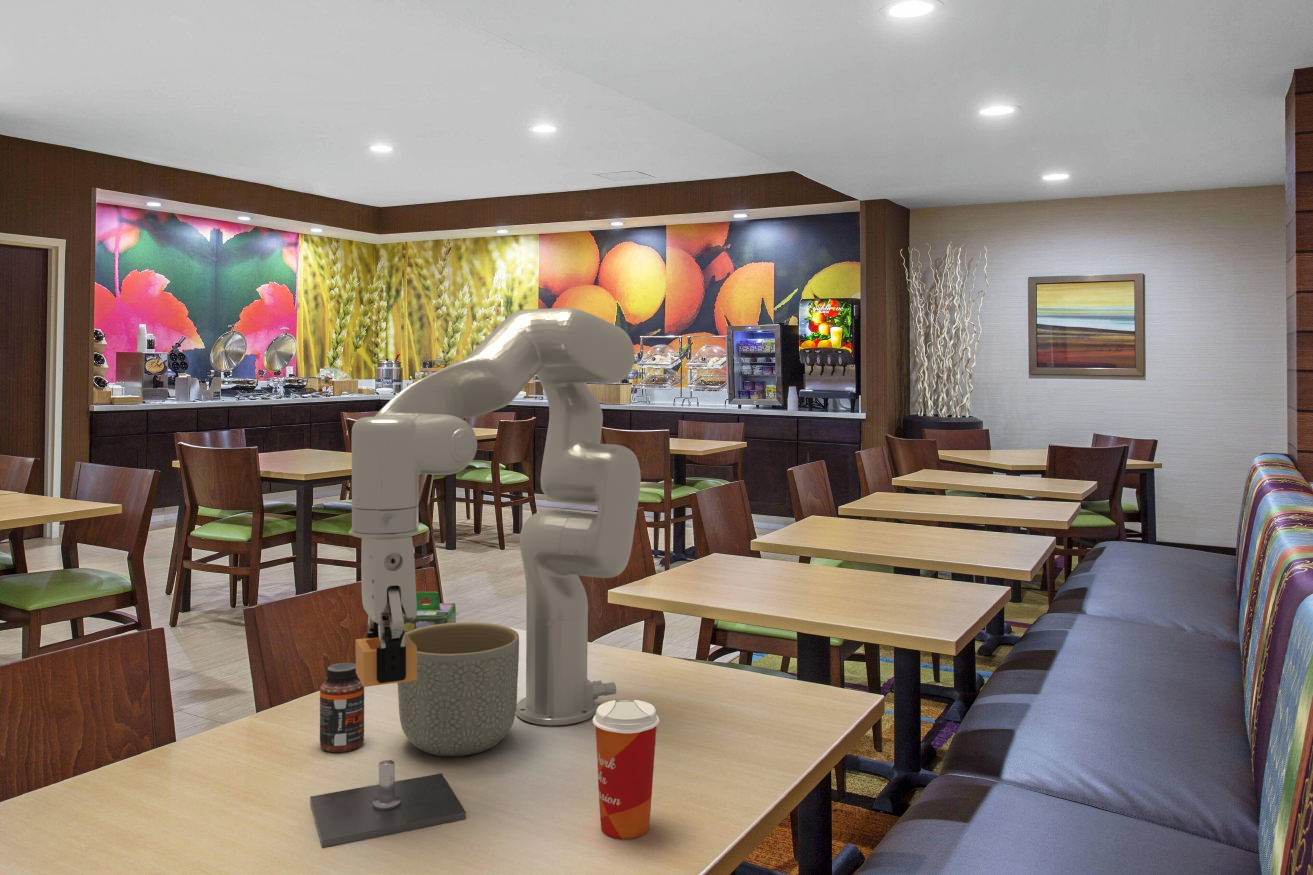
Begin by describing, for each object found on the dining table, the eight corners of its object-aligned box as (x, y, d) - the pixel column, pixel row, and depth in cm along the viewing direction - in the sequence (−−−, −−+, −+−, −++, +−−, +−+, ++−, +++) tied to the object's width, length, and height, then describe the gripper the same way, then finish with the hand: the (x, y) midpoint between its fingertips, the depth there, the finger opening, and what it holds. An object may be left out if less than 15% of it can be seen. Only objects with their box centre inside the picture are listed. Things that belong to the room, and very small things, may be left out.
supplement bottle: (350, 755, 126) (350, 674, 126) (311, 751, 127) (310, 671, 127) (372, 739, 132) (371, 661, 132) (334, 735, 133) (334, 658, 133)
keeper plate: (441, 779, 119) (441, 735, 119) (465, 818, 108) (465, 770, 108) (310, 802, 112) (309, 756, 112) (322, 847, 101) (321, 795, 101)
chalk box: (457, 665, 168) (457, 584, 167) (448, 681, 159) (448, 596, 158) (406, 665, 167) (405, 584, 166) (394, 681, 158) (393, 596, 157)
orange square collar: (406, 665, 113) (406, 633, 113) (416, 680, 108) (416, 646, 108) (355, 672, 111) (355, 639, 110) (363, 686, 105) (363, 652, 105)
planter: (464, 777, 120) (464, 661, 119) (370, 751, 128) (370, 642, 127) (542, 735, 134) (542, 631, 134) (453, 714, 143) (453, 616, 142)
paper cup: (591, 813, 110) (592, 698, 109) (655, 811, 111) (656, 696, 110) (592, 845, 102) (593, 722, 102) (661, 843, 103) (662, 720, 102)
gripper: (434, 530, 102) (434, 690, 103) (403, 511, 118) (403, 650, 119) (364, 534, 99) (365, 699, 100) (341, 513, 114) (342, 657, 115)
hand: (386, 671), depth 109 cm, fingers closed on orange square collar, 6 cm apart
